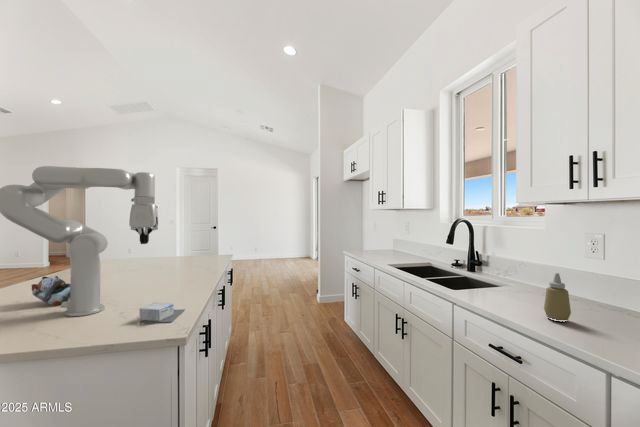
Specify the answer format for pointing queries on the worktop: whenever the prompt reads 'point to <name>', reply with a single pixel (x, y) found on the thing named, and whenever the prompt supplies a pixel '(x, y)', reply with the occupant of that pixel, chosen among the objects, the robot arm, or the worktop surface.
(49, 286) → the blue crumpled lump
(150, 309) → the medicine box
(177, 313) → the mat
